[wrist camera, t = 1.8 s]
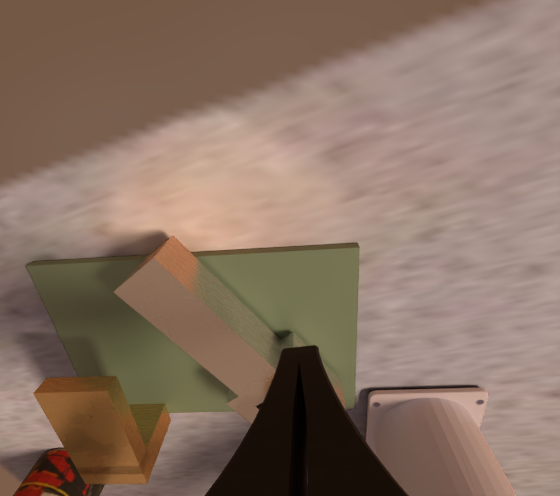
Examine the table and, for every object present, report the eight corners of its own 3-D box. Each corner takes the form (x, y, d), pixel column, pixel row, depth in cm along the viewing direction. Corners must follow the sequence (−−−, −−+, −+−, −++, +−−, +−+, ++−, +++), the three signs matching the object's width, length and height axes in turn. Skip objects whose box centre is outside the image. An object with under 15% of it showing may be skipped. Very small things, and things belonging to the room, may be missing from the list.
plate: (353, 400, 23) (354, 408, 22) (100, 407, 24) (96, 414, 24) (357, 242, 18) (359, 247, 17) (33, 261, 19) (25, 266, 18)
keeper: (170, 420, 24) (147, 483, 20) (119, 421, 24) (85, 483, 20) (142, 334, 20) (106, 391, 16) (82, 337, 20) (33, 393, 17)
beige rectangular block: (340, 379, 21) (346, 415, 19) (281, 410, 22) (280, 447, 20) (185, 224, 17) (168, 245, 14) (125, 275, 18) (100, 302, 16)
